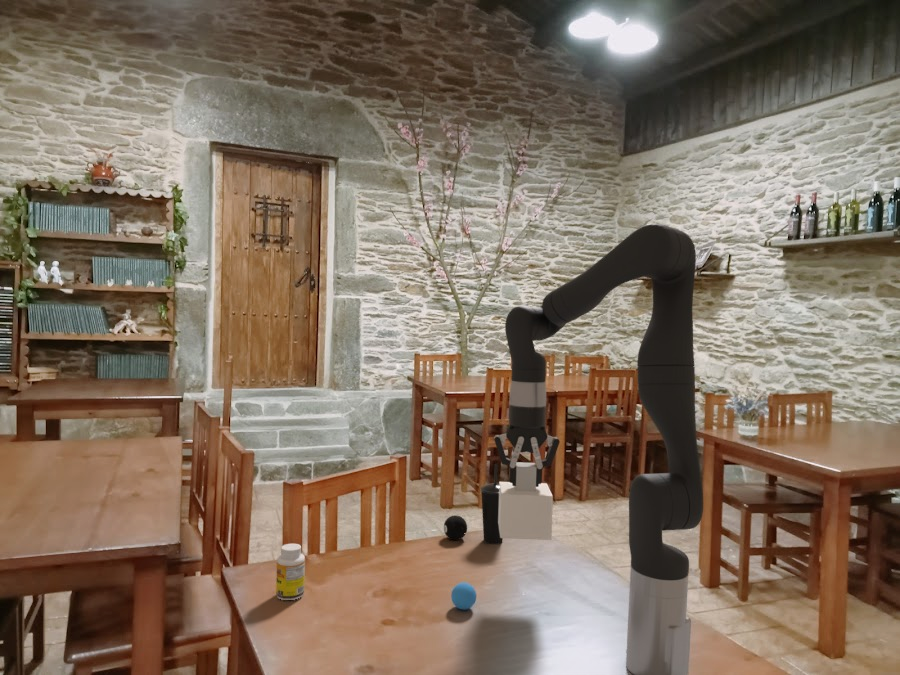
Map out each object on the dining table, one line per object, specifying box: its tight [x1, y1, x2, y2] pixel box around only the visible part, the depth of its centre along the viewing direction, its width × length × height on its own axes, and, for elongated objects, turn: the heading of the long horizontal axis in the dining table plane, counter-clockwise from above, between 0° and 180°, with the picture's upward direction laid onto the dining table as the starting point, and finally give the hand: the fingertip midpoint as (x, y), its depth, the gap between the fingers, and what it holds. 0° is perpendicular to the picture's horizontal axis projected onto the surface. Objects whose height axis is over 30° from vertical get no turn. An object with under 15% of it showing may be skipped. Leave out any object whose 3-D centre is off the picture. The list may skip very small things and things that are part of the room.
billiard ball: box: [443, 515, 468, 541], centre depth 165 cm, size 6×6×6 cm
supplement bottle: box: [275, 543, 306, 601], centre depth 129 cm, size 6×6×10 cm
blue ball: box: [451, 582, 477, 611], centre depth 126 cm, size 5×5×5 cm
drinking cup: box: [479, 463, 504, 545], centre depth 164 cm, size 8×8×20 cm
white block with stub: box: [498, 461, 554, 541], centre depth 132 cm, size 10×10×14 cm
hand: (525, 485), depth 132 cm, fingers closed on white block with stub, 4 cm apart
